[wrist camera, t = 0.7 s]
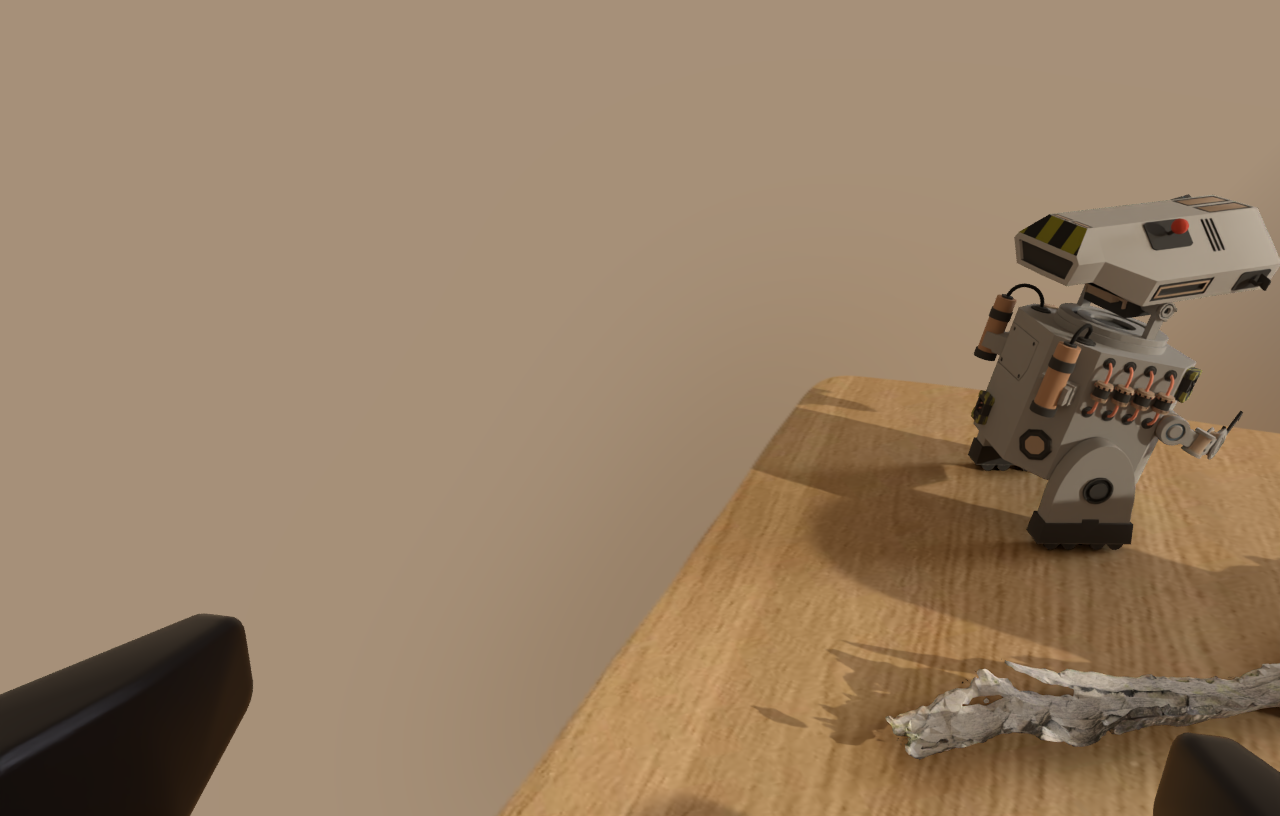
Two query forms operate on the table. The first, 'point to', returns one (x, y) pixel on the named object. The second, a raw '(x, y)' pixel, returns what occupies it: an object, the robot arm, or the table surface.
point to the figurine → (1107, 354)
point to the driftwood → (1079, 707)
